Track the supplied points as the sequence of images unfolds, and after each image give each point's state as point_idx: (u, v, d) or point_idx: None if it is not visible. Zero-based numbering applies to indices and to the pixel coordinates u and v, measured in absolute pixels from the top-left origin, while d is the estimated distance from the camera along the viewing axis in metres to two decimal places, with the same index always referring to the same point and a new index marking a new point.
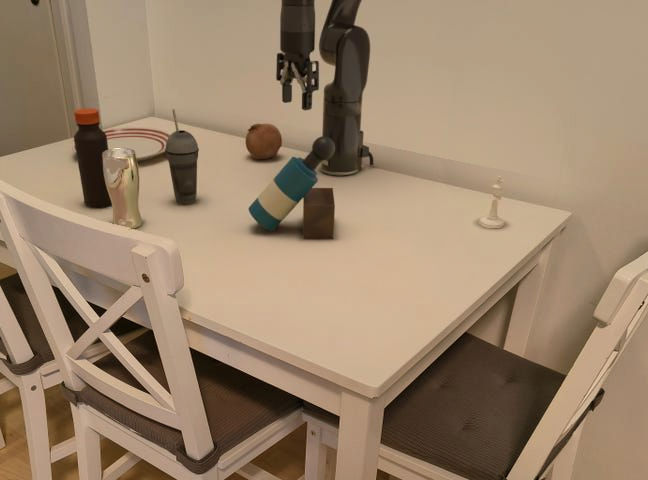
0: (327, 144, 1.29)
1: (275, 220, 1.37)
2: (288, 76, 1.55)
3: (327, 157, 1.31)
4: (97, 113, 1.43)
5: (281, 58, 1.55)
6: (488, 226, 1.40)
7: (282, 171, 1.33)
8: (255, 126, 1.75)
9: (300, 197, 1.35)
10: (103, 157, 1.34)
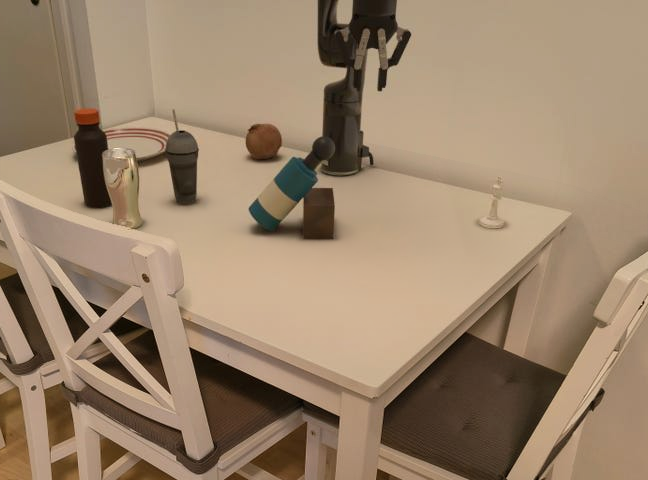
0: (327, 144, 1.29)
1: (275, 220, 1.37)
2: None
3: (327, 157, 1.31)
4: (97, 113, 1.43)
5: (342, 36, 1.20)
6: (488, 226, 1.40)
7: (282, 171, 1.33)
8: (255, 126, 1.75)
9: (300, 197, 1.35)
10: (103, 157, 1.34)
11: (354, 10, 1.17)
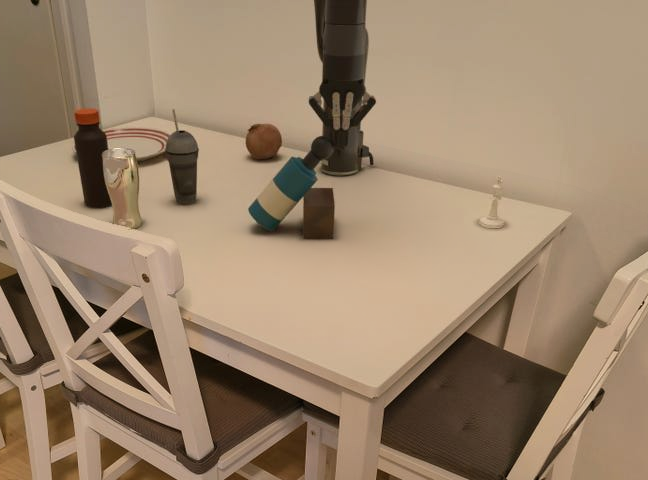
0: (326, 143, 1.29)
1: (274, 220, 1.37)
2: None
3: (326, 156, 1.31)
4: (97, 113, 1.43)
5: (316, 101, 1.26)
6: (488, 226, 1.40)
7: (281, 171, 1.33)
8: (255, 126, 1.75)
9: (299, 197, 1.35)
10: (103, 157, 1.34)
11: (324, 75, 1.23)
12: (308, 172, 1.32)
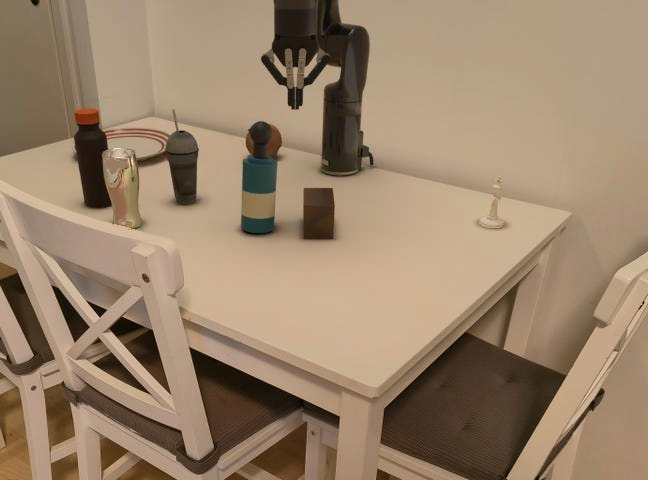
0: (258, 127, 1.29)
1: (264, 220, 1.37)
2: None
3: (267, 138, 1.30)
4: (97, 113, 1.43)
5: (268, 58, 1.22)
6: (488, 226, 1.40)
7: (242, 176, 1.35)
8: None
9: (271, 187, 1.34)
10: (103, 157, 1.34)
11: (275, 30, 1.19)
12: (262, 161, 1.32)
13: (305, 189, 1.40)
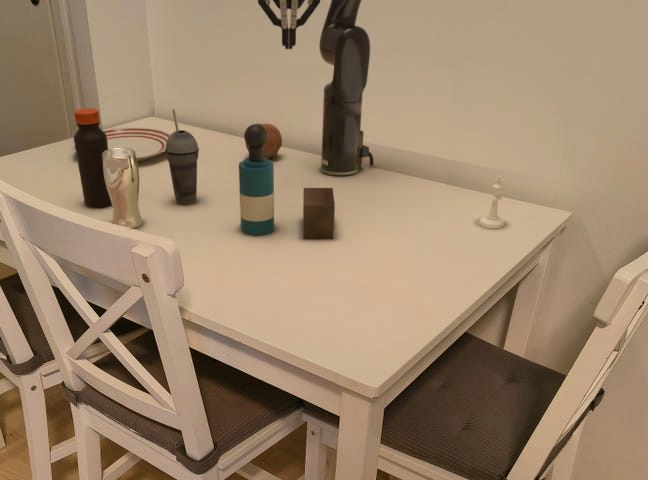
0: (252, 131, 1.28)
1: (263, 223, 1.37)
2: None
3: (262, 141, 1.29)
4: (97, 113, 1.43)
5: (264, 1, 1.36)
6: (488, 226, 1.40)
7: (239, 180, 1.35)
8: None
9: (268, 189, 1.34)
10: (103, 157, 1.34)
11: None
12: (257, 165, 1.31)
13: (305, 189, 1.40)
